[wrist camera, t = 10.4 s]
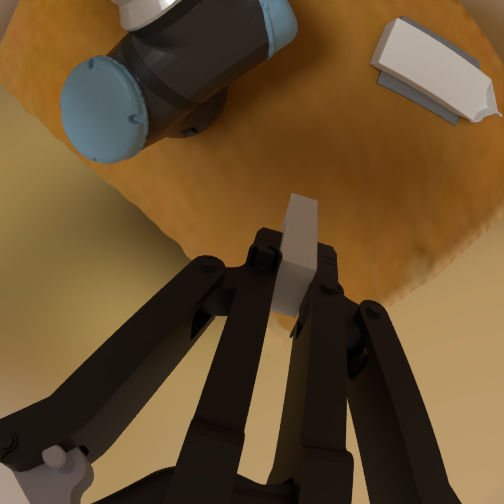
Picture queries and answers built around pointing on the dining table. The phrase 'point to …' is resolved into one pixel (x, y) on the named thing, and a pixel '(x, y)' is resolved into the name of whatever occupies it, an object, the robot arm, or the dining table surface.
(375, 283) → the dining table surface
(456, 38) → the dining table surface
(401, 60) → the milk carton
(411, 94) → the mat
